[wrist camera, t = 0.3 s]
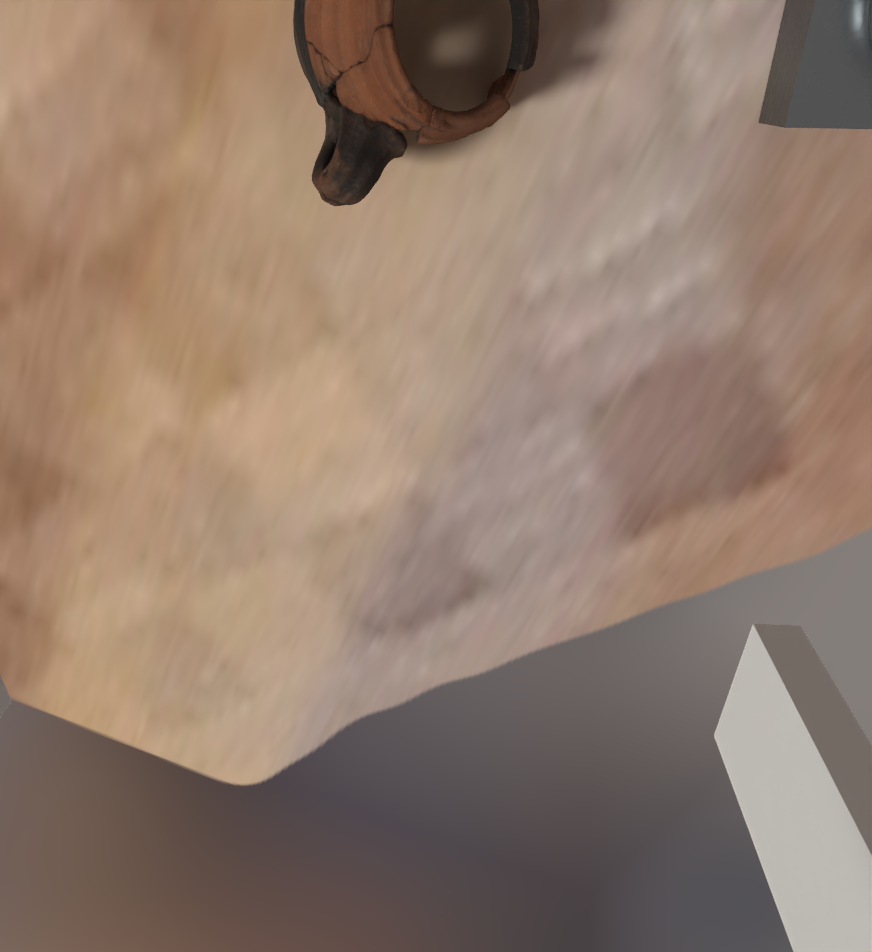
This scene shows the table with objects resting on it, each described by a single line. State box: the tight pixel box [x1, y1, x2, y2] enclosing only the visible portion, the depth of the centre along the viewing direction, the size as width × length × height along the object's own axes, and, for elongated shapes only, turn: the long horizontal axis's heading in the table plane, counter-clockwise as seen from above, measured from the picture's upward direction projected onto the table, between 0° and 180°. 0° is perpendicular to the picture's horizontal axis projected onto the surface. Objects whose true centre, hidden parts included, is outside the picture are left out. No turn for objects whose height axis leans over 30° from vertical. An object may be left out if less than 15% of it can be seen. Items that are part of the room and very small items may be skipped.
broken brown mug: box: [293, 0, 539, 206], centre depth 29 cm, size 12×10×8 cm
